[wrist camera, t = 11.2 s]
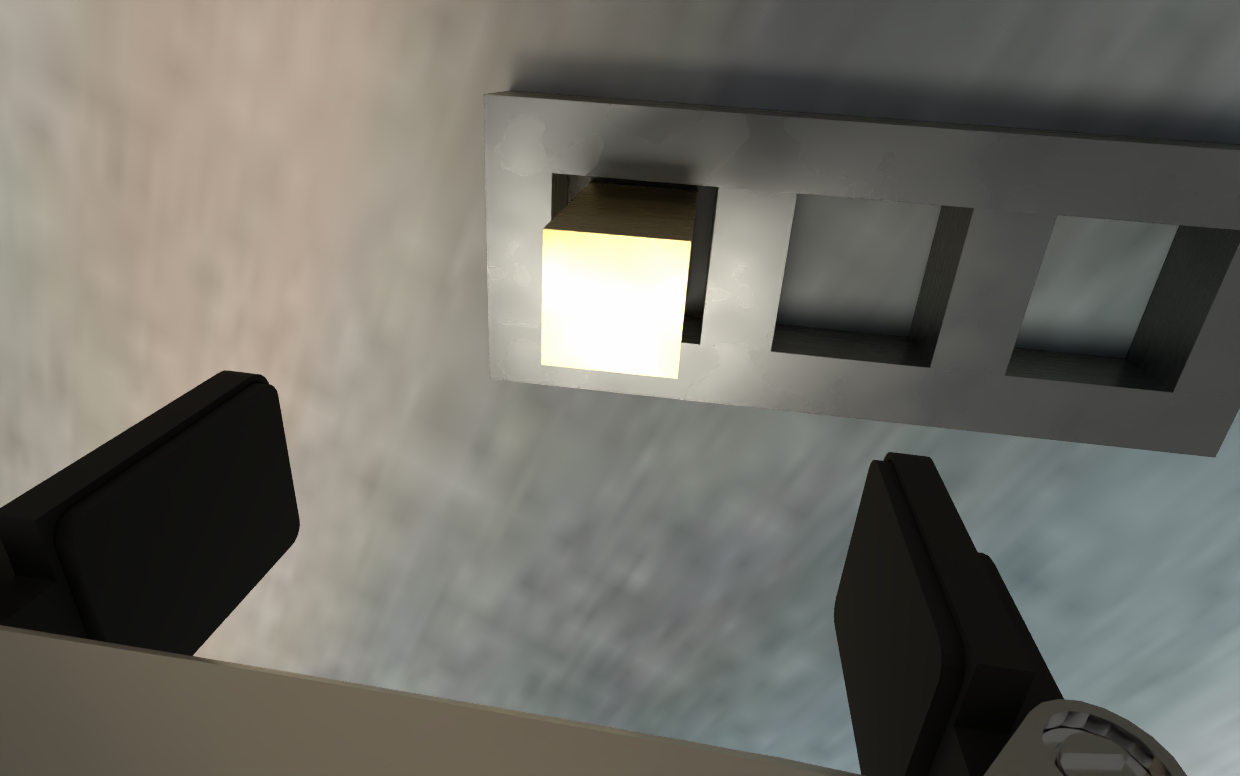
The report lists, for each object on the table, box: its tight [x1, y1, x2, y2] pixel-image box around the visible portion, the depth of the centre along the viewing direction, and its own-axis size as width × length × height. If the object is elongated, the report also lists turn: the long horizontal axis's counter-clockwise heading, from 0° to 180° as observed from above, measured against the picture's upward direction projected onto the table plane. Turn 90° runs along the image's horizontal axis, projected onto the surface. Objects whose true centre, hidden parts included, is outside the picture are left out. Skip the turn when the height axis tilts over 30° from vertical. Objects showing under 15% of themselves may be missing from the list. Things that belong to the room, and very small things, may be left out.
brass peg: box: [542, 182, 698, 378], centre depth 23 cm, size 4×4×8 cm
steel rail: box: [484, 91, 1240, 457], centre depth 25 cm, size 26×10×3 cm, turn 86°
